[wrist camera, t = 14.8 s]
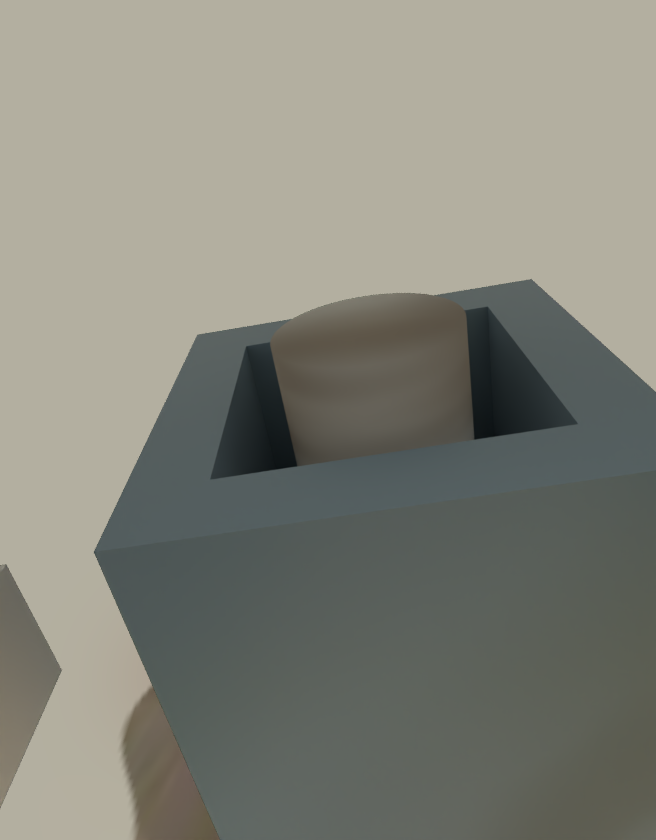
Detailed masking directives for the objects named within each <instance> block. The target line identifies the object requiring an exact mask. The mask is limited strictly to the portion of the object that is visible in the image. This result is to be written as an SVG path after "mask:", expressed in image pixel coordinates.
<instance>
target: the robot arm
mask: <svg viewBox="0 0 656 840" xmlns="http://www.w3.org/2000/svg"><path fill="white" fill-rule="evenodd" d="M60 673H61V668H60V666H59V664H58V662H57V661H56V658H55V656H54V655H53V653H52V651H51V649H50V647H49V645H48V643H47V641H46V639H45V637H44V635H43V634H42V632H41V630H40V628H39V626H38V624H37V622H36V620H35V618H34V617H33V615H32V613H31V611H30V609H29V607H28V605H27V603H26V601H25V599H24V598H23V596H22V594H21V592H20V590H19V588H18V586H17V585H16V582H15V581H14V578H13V577H12V575H11V573H10V571H9V569H8V567H7V565H6V564H5V565H0V808H1V805H2V803H3V801H4V799H5V796H6V794H7V792H8V789H9V787H10V785H11V783H12V781H13V778H14V776H15V774H16V772H17V769H18V767H19V765H20V762H21V761H22V758H23V756H24V754H25V751H26V749H27V747H28V745H29V742H30V740H31V738H32V736H33V734H34V731H35V729H36V727H37V725H38V722H39V720H40V718H41V716H42V713H43V711H44V709H45V706H46V704H47V702H48V700H49V697H50V695H51V693H52V691H53V689H54V686H55V684H56V682H57V680H58V677H59V675H60Z"/></svg>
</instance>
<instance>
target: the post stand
mask: <svg viewBox="0 0 656 840" xmlns="http://www.w3.org/2000/svg"><path fill="white" fill-rule="evenodd" d="M270 347H271V351H272V356H273V360H274V364H275V369H276V373H277V378H278V382H279V387H280V391H281V396H282V400H283V404H284V409H285V413H286V418H287V422H288V427H289V431H290V436H291V440H292V444H293V449H294V453H295V458H296V462H297V466H304V465H311V464H317V463H324V462H330V461H337V460H344V459H350V458H357V457H364V456H370V455H377V454H383V453H390V452H397V451H403V450H410V449H417V448H423V447H430V446H436V445H443V444H450V443H456V442H463V441H470V440H474V425H473V410H472V395H471V380H470V365H469V350H468V334H467V319H466V313H465V311H464V309H463V308H462V307H461V306H460V305H459V304H457V303H455V302H453V301H451V300H449V299H446V298H442V297H438V296H433V295H427V294H415V293H393V294H379V295H370V296H363V297H357V298H352V299H347V300H342V301H338V302H335V303H331V304H328V305H324V306H321V307H318V308H316V309H313V310H310V311H308V312H306V313H303V314H301V315H299V316H297V317H295V318H293V319H292V320H290V321H288V322H287V323H285V324H284V325H283V326H281V327H280V328H279V329H278V330H277V331H276V332H275V333H274V335H273V336H272V338H271V341H270Z"/></svg>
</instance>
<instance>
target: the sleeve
mask: <svg viewBox="0 0 656 840" xmlns="http://www.w3.org/2000/svg"><path fill="white" fill-rule="evenodd" d="M434 296H438V297H442V298H446V299H449V300H451V301H453V302H455V303H457V304H459V305H460V306H461V307H462V308H463V309H464V311H465V313H466V319H467V334H468V350H469V365H470V380H471V395H472V410H473V425H474V440H470V441H463V442H456V443H450V444H443V445H436V446H430V447H423V448H417V449H410V450H403V451H397V452H390V453H383V454H377V455H370V456H364V457H357V458H350V459H344V460H337V461H330V462H324V463H317V464H311V465H304V466H297V462H296V458H295V453H294V449H293V444H292V440H291V436H290V431H289V427H288V422H287V418H286V413H285V409H284V404H283V400H282V396H281V391H280V387H279V382H278V378H277V373H276V369H275V364H274V360H273V356H272V351H271V347H270V341H271V338H272V336H273V335H274V333H275V332H276V331H277V330H278V329H279V328H280V327H281V326H283V325H284V324H285V323H287V322H288V321H290V320H292V319H289V320H284V321H278V322H271V323H265V324H260V325H254V326H247V327H241V328H235V329H229V330H223V331H217V332H212V333H205V334H199V335H197V337H196V339H195V341H194V343H193V345H192V348H191V349H190V352H189V354H188V356H187V358H186V360H185V362H184V364H183V366H182V368H181V371H180V372H179V375H178V377H177V379H176V381H175V383H174V385H173V387H172V389H171V392H170V393H169V396H168V398H167V400H166V402H165V404H164V406H163V408H162V410H161V412H160V414H159V417H158V419H157V421H156V423H155V425H154V427H153V429H152V431H151V433H150V435H149V438H148V440H147V442H146V444H145V446H144V448H143V450H142V452H141V454H140V456H139V459H138V461H137V463H136V465H135V467H134V469H133V471H132V473H131V475H130V477H129V479H128V482H127V484H126V486H125V488H124V490H123V492H122V494H121V497H120V498H119V501H118V503H117V505H116V507H115V509H114V511H113V513H112V515H111V517H110V519H109V521H108V524H107V526H106V528H105V530H104V532H103V534H102V536H101V538H100V540H99V543H98V544H97V547H96V549H95V551H94V553H95V556H96V558H97V560H98V562H99V565H100V567H101V569H102V572H103V574H104V576H105V578H106V581H107V583H108V585H109V588H110V590H111V592H112V595H113V597H114V599H115V601H116V604H117V606H118V608H119V610H120V613H121V615H122V617H123V620H124V622H125V624H126V626H127V629H128V631H129V633H130V636H131V638H132V640H133V642H134V645H135V647H136V649H137V652H138V654H139V656H140V658H141V661H142V663H143V665H144V667H145V670H146V672H147V674H148V676H149V679H150V681H151V683H152V686H153V688H154V690H155V693H156V695H157V697H158V699H159V702H160V704H161V706H162V709H163V711H164V713H165V715H166V718H167V720H168V722H169V724H170V727H171V729H172V731H173V734H174V736H175V738H176V740H177V743H178V745H179V747H180V750H181V752H182V754H183V756H184V759H185V761H186V763H187V766H188V768H189V770H190V772H191V775H192V777H193V779H194V782H195V784H196V786H197V788H198V791H199V793H200V795H201V797H202V800H203V802H204V804H205V807H206V809H207V811H208V813H209V816H210V818H211V820H212V823H213V825H214V827H215V829H216V832H217V834H218V836H219V839H220V840H656V392H655V391H654V390H653V389H652V388H651V387H650V386H648V385H647V384H646V383H645V382H644V381H643V380H642V379H641V378H640V377H639V376H638V375H636V374H635V373H634V372H633V371H632V370H631V369H630V368H629V367H628V366H627V365H625V364H624V363H623V362H622V361H621V360H620V359H619V358H618V357H616V356H615V355H614V354H613V353H612V352H611V351H610V350H609V349H608V348H607V347H606V346H604V345H603V344H602V343H601V342H600V341H599V340H598V339H597V338H595V337H594V336H593V335H592V334H591V333H590V332H589V331H588V330H587V329H586V328H585V327H583V326H582V325H581V324H580V323H579V322H578V321H577V320H576V319H575V318H574V317H572V316H571V315H570V314H569V313H568V312H567V311H566V310H565V309H563V307H561V306H560V305H559V304H558V303H557V302H556V301H555V300H553V298H551V297H550V296H549V295H548V294H547V293H546V292H545V291H544V290H543V289H542V288H540V287H539V286H538V285H537V284H536V283H535V282H534V281H533V280H532V279H530V280H525V281H519V282H512V283H506V284H500V285H494V286H488V287H482V288H476V289H470V290H464V291H458V292H452V293H446V294H440V295H434Z"/></svg>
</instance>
